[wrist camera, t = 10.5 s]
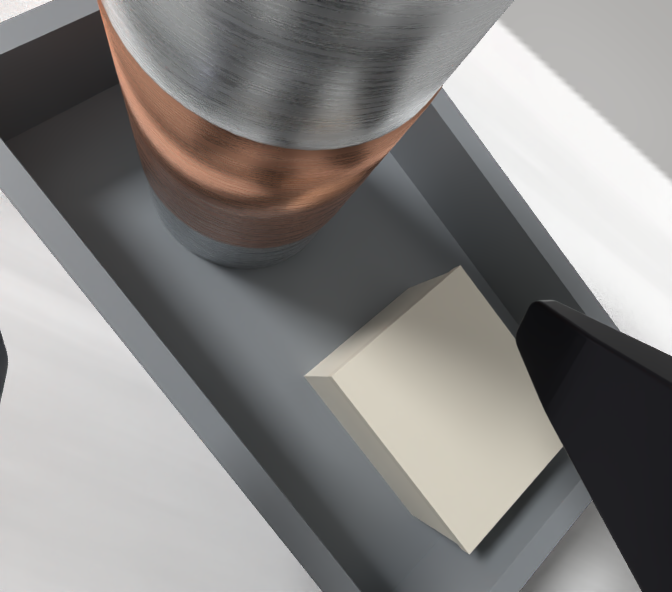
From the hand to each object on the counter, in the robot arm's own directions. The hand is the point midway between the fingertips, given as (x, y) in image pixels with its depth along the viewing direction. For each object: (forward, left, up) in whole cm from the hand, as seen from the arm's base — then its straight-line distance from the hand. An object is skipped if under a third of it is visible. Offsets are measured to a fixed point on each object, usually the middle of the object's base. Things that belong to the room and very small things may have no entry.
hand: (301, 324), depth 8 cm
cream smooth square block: (-5, -3, -8) cm, 10 cm away
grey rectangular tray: (0, -3, -8) cm, 9 cm away
